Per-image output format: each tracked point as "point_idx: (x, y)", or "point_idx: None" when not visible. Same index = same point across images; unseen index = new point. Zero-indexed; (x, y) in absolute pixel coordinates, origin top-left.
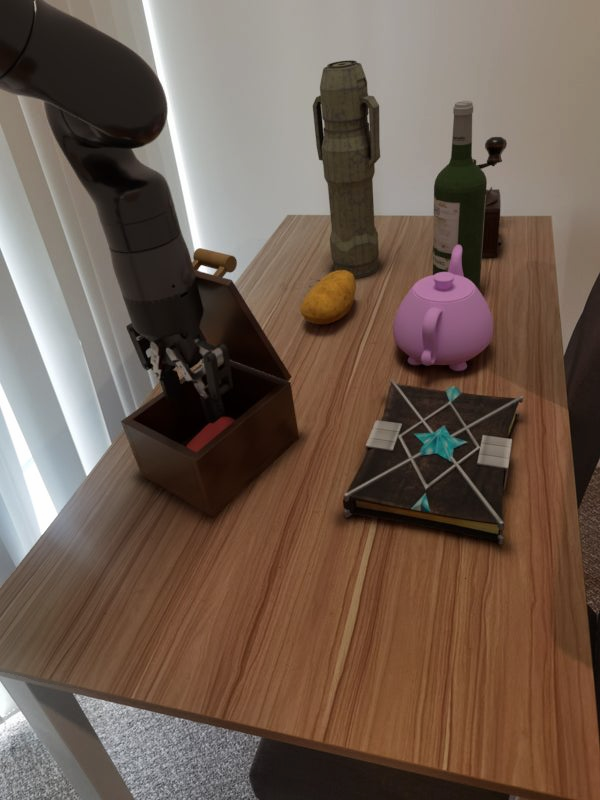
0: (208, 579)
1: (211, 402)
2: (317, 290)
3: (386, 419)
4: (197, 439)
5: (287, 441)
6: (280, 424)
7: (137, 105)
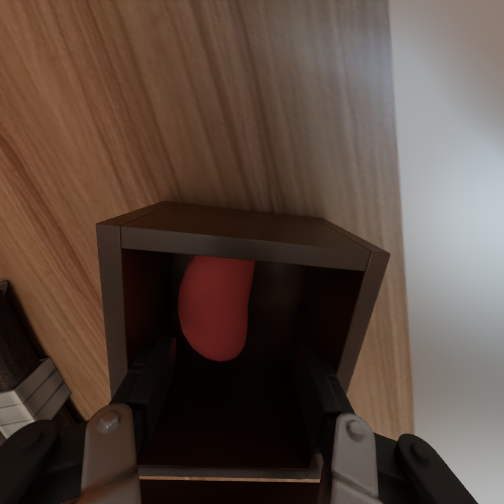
0: (81, 98)
1: (117, 396)
2: None
3: None
4: (221, 296)
5: None
6: None
7: None
